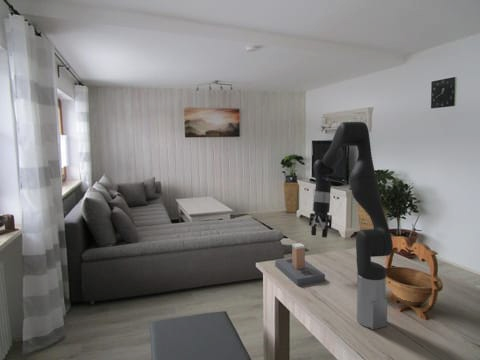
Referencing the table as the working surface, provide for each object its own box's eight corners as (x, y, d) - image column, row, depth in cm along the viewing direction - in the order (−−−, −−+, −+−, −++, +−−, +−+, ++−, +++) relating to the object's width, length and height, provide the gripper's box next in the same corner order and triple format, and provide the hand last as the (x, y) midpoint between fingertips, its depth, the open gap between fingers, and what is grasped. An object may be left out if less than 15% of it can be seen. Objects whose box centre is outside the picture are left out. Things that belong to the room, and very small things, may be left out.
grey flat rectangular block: (324, 280, 147) (324, 274, 146) (297, 285, 143) (297, 278, 142) (299, 261, 169) (299, 256, 169) (275, 265, 165) (275, 260, 165)
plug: (304, 273, 155) (304, 245, 153) (296, 275, 153) (296, 247, 151) (300, 270, 159) (300, 243, 157) (292, 271, 157) (292, 244, 156)
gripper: (338, 203, 147) (335, 238, 145) (319, 202, 160) (316, 235, 159) (324, 201, 144) (321, 237, 143) (306, 200, 157) (303, 234, 156)
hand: (318, 236), depth 151 cm, fingers open, 8 cm apart
